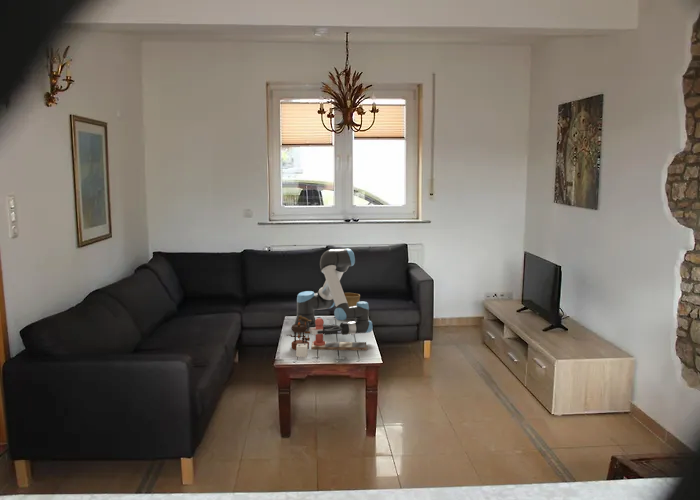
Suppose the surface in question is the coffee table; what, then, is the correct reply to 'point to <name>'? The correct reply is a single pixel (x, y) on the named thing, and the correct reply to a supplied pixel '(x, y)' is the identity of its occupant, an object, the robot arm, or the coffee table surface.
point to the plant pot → (352, 298)
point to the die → (301, 350)
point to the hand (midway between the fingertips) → (310, 331)
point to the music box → (299, 329)
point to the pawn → (319, 337)
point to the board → (341, 346)
